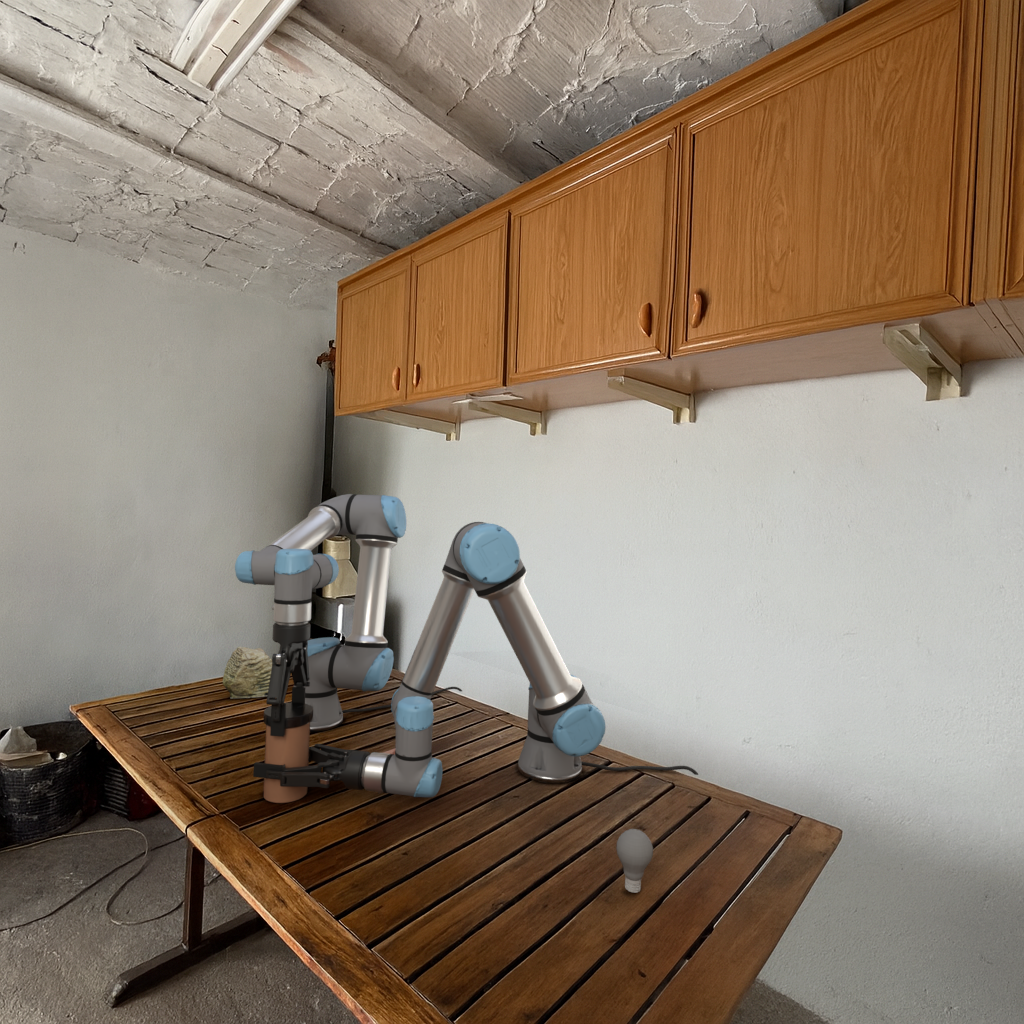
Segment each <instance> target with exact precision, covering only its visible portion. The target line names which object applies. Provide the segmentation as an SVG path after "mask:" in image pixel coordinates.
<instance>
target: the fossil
mask: <svg viewBox="0 0 1024 1024" xmlns="http://www.w3.org/2000/svg"><path fill="white" fill-rule="evenodd" d="M271 670H272V657H270V656H269V655H268V654H267V653H266V652H265V650H264V649H263V648H260V647H258V648H251V647H247V646H246V647H245V646H238V647H237V648H236V649H235V650H233V651H232V653H231V656H230V657H229V659H228V660H227V663H226V666H225V668H224V671H223V675H222V676H223V677H222V685H223V687H224V688H225V690H226V691H228V693H229V698H230V699H250V698H264V697H267V695H268V689H269V682H270V676H271Z"/></svg>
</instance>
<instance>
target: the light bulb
mask: <svg viewBox="0 0 1024 1024" xmlns="http://www.w3.org/2000/svg"><path fill="white" fill-rule="evenodd" d="M615 849H616V854H617V857H618V859H619V861H620V863H621V865H622V867H623V873H624V874H623V875H624V876H625V878H624V888H625V890H627V891H628V892H630V893H634V894H635V893H639V892H640V891H641V889H642V887H641V886H642V879H643V877H644V875H645V871H646V868H647V867H648V866H649V864H650V863H651V861H652V859H653V855H654V847H653V843H652V841H651V838H649V836H648V835H647V834H646V833H645V832H643V831H642V830H641V829H636V828H629V829H627V830H625V831H623V832H622V833H621V834H620V835H619V837H618V839H617V841H616V847H615Z"/></svg>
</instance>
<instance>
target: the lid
mask: <svg viewBox="0 0 1024 1024" xmlns="http://www.w3.org/2000/svg"><path fill="white" fill-rule="evenodd" d="M291 702H292V701H291ZM291 702H284V703H285V704H286V719H285V728H291V727H298V726H302V725H305V724H307V723H309V722H310V721H312V719H313V707H312V706H311V705H308V704H305V703H295V702H292V703H291ZM263 724H264V725H265V726H266V725H267V726H270V727H271V705H270V706H268V707H265V709H264V711H263Z"/></svg>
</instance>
